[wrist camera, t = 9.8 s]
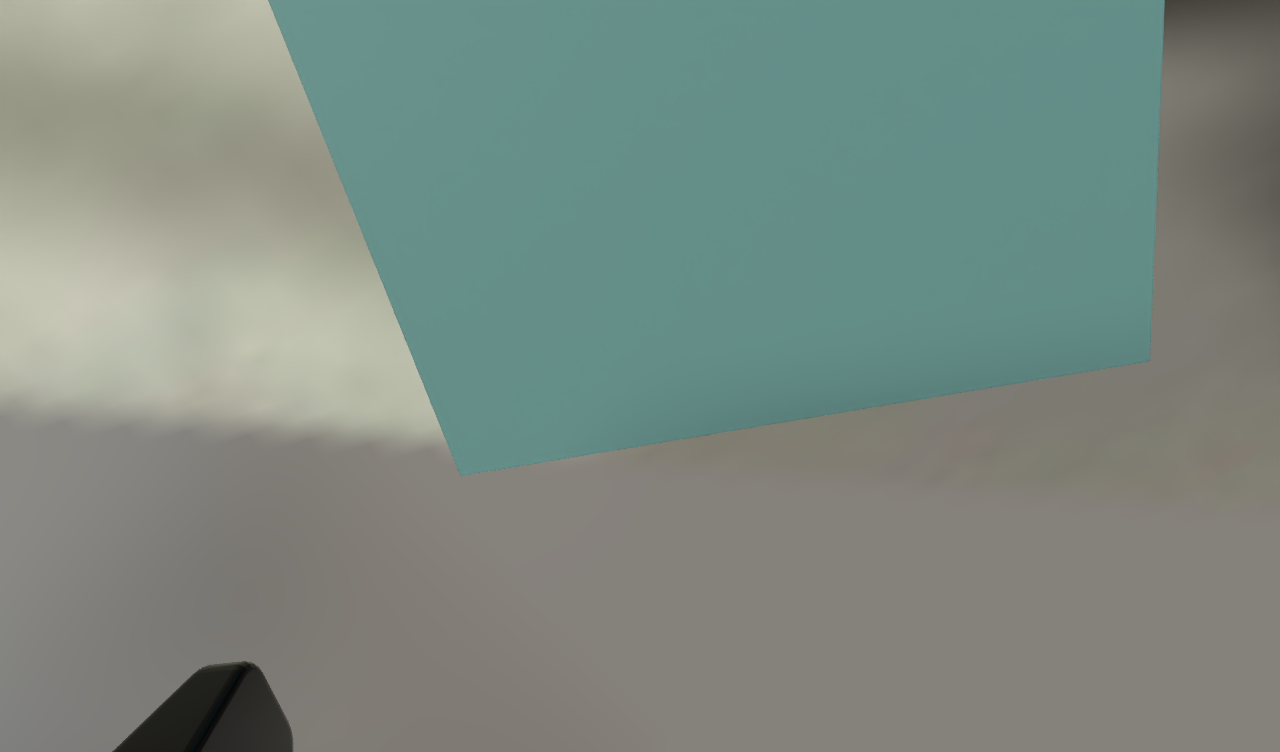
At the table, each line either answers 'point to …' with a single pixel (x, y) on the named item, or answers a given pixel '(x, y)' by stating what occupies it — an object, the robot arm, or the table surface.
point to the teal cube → (738, 202)
